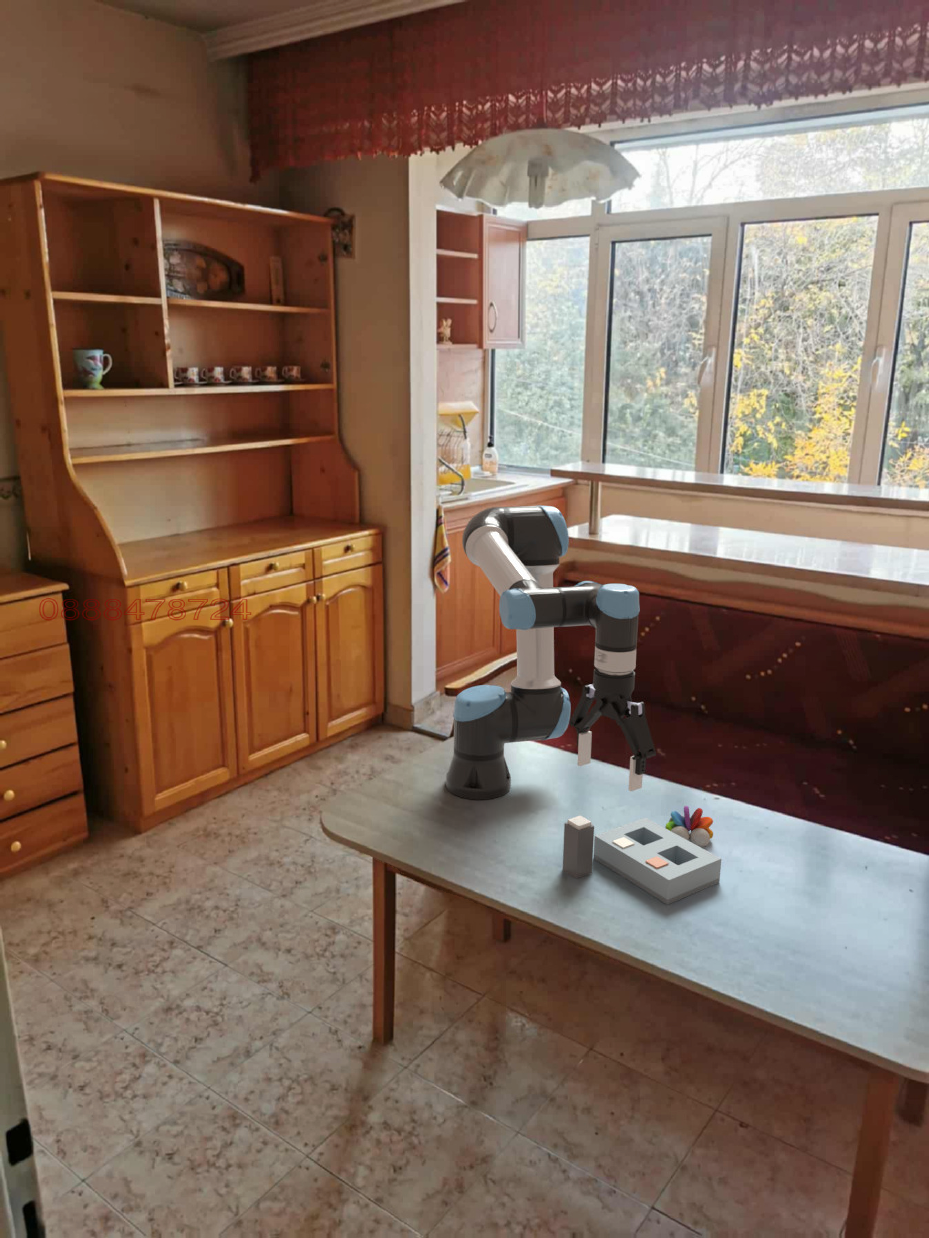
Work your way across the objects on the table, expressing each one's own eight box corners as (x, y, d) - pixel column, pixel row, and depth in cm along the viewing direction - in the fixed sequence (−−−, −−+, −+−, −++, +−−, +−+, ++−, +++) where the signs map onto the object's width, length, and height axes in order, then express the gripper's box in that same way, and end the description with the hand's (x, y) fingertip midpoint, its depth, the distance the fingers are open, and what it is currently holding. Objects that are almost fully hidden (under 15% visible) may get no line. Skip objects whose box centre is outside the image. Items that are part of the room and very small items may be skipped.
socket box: (593, 858, 186) (594, 834, 184) (644, 839, 193) (645, 816, 192) (667, 904, 170) (669, 878, 168) (719, 882, 177) (721, 857, 176)
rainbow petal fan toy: (713, 851, 189) (716, 819, 187) (664, 846, 191) (667, 814, 189) (711, 832, 197) (714, 800, 195) (664, 827, 199) (666, 796, 197)
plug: (562, 869, 181) (564, 819, 179) (578, 863, 184) (580, 813, 181) (576, 878, 178) (578, 827, 175) (591, 872, 180) (594, 822, 178)
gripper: (553, 655, 178) (550, 758, 184) (651, 691, 159) (643, 805, 164) (582, 649, 183) (578, 750, 188) (680, 683, 163) (672, 794, 169)
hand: (608, 776), depth 176 cm, fingers open, 13 cm apart
